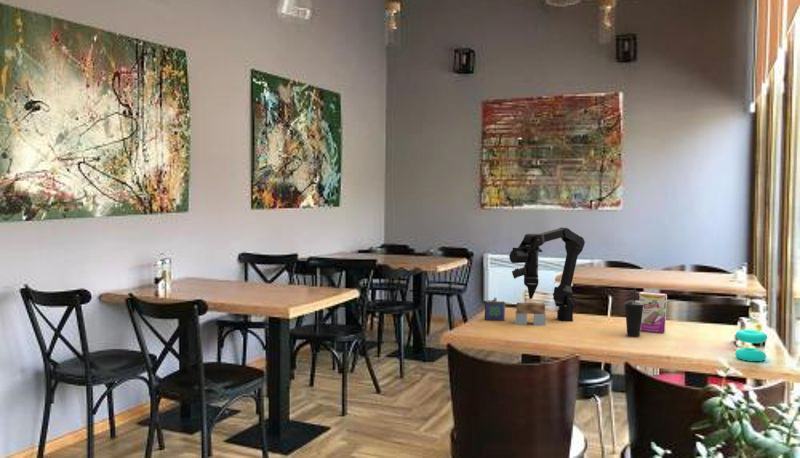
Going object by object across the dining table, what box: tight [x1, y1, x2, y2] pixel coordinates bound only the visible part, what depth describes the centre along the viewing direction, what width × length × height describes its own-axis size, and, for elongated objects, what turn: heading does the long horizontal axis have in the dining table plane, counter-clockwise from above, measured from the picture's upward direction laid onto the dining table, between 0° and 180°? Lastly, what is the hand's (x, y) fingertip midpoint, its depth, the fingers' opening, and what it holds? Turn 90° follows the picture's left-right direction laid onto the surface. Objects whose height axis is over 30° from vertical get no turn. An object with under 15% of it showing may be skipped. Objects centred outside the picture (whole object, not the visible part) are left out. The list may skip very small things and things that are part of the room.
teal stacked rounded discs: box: [734, 329, 768, 362], centre depth 247 cm, size 10×10×10 cm
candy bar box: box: [638, 291, 668, 334], centre depth 293 cm, size 11×5×16 cm, turn 65°
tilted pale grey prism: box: [514, 310, 528, 326], centre depth 306 cm, size 5×5×5 cm
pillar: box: [533, 313, 546, 327], centre depth 305 cm, size 5×5×5 cm
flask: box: [484, 297, 506, 322], centre depth 313 cm, size 9×3×11 cm, turn 88°
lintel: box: [516, 302, 546, 315], centre depth 305 cm, size 12×5×4 cm, turn 84°
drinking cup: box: [624, 287, 644, 338], centre depth 284 cm, size 8×8×20 cm
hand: (530, 297), depth 305 cm, fingers open, 9 cm apart
